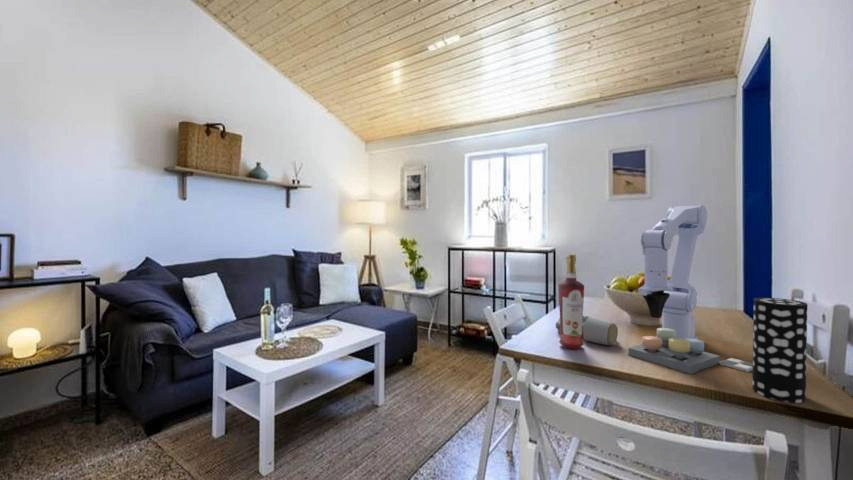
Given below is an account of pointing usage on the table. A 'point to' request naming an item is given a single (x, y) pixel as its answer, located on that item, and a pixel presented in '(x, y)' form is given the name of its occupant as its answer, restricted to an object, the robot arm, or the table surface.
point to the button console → (668, 359)
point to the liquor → (571, 307)
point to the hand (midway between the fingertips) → (655, 317)
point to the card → (738, 364)
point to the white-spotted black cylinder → (780, 349)
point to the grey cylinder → (600, 331)
